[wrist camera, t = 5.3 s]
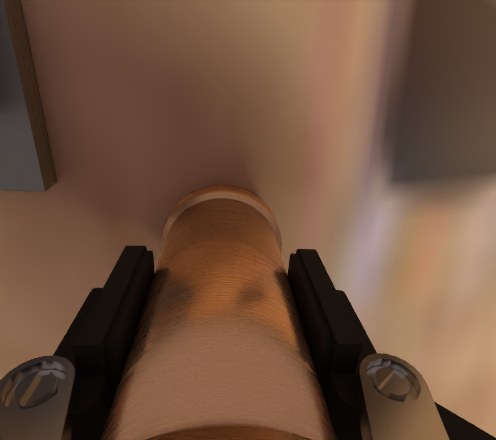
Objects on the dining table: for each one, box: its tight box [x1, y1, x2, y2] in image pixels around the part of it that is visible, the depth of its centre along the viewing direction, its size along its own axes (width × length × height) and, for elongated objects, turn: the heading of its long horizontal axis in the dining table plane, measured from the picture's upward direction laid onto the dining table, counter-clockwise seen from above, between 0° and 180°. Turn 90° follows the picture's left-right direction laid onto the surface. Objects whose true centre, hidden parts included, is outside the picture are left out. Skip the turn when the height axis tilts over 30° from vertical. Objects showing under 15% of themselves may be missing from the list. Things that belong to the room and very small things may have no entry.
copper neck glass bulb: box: [100, 185, 337, 440], centre depth 9 cm, size 5×5×10 cm
